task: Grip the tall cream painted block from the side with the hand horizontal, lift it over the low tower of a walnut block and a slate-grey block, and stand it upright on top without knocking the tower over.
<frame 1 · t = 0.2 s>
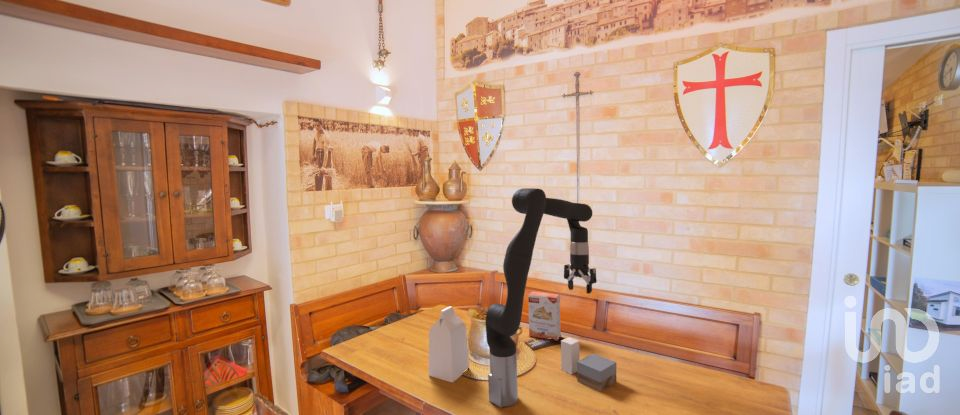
hand: (579, 291, 162), 29 cm above the table, tool pointing down, fingers open, 8 cm apart
cream block: (570, 370, 154), on the table
tower top: (596, 372, 145), point 4 cm above the table
tower base: (596, 382, 145), on the table
milk: (449, 372, 156), on the table
cracker box: (544, 337, 187), on the table
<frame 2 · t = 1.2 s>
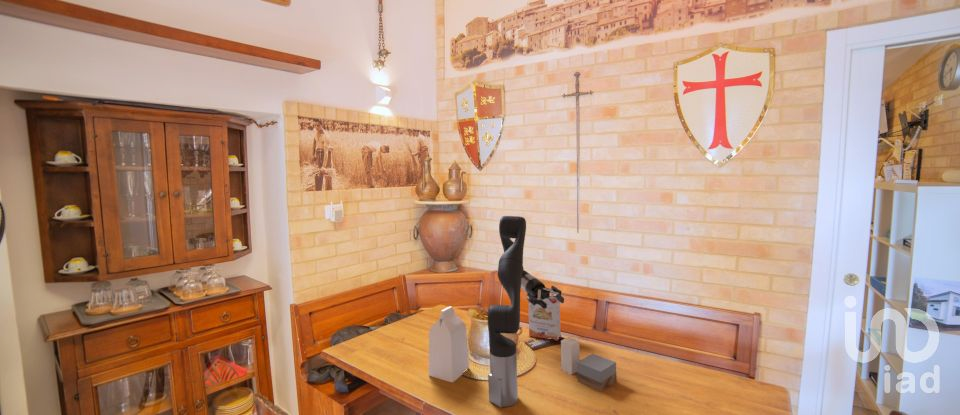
hand: (554, 303, 157), 25 cm above the table, tool horizontal, fingers open, 8 cm apart
tower top: (596, 372, 145), point 4 cm above the table, touching tower base
tower base: (596, 382, 145), on the table, touching tower top
everything else where it was.
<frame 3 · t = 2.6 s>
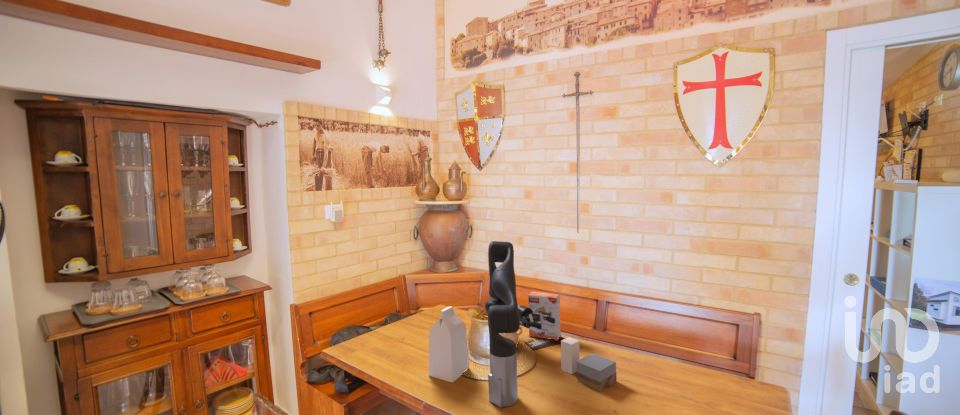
hand: (548, 324, 162), 16 cm above the table, tool horizontal, fingers open, 8 cm apart
nothing on the table moved.
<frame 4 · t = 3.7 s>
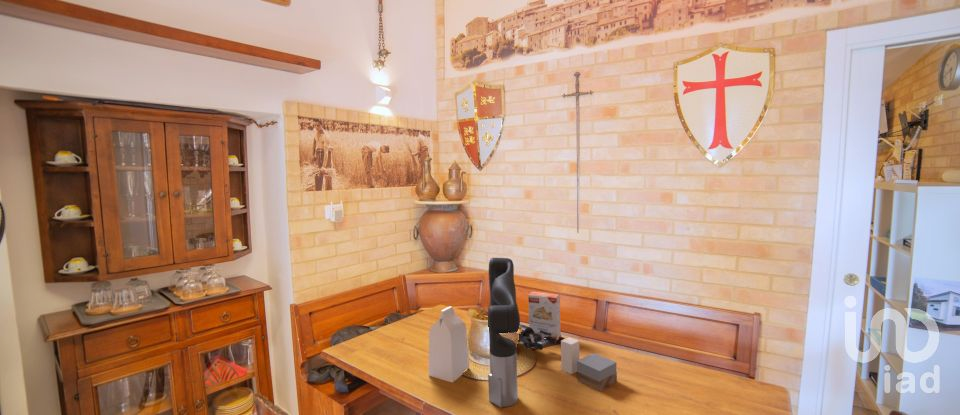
hand: (549, 344, 162), 7 cm above the table, tool horizontal, fingers open, 8 cm apart
tower top: (596, 371, 145), point 4 cm above the table
tower base: (597, 382, 145), on the table
everything else where it was.
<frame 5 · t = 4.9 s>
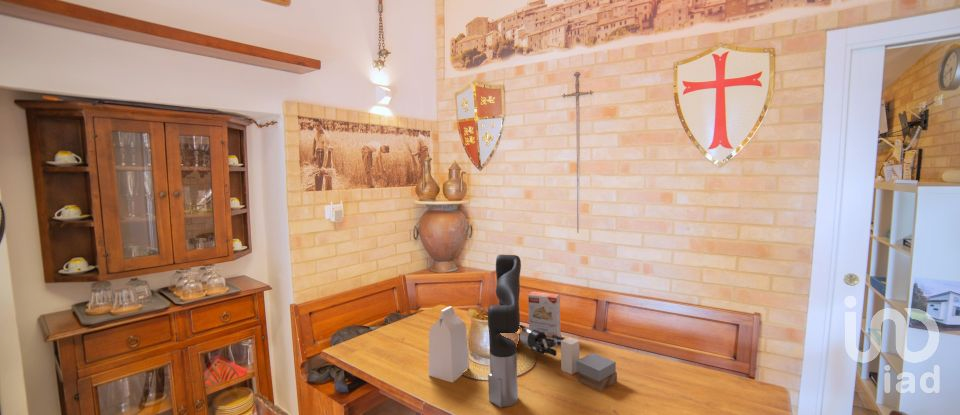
hand: (562, 350, 156), 7 cm above the table, tool horizontal, fingers open, 8 cm apart
nothing on the table moved.
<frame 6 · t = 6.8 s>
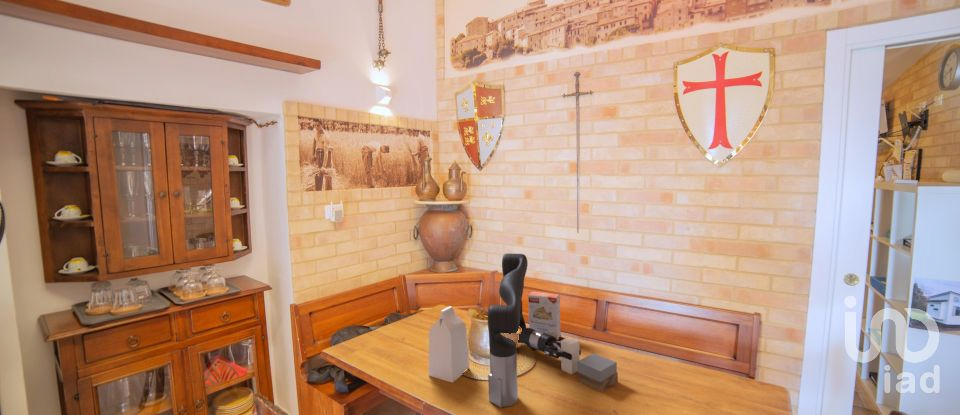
hand: (575, 354, 152), 7 cm above the table, tool horizontal, fingers closed on cream block, 5 cm apart
cream block: (570, 369, 154), on the table, touching gripper
tower top: (597, 372, 145), point 4 cm above the table, touching tower base
tower base: (598, 382, 145), on the table, touching tower top
everything else where it was.
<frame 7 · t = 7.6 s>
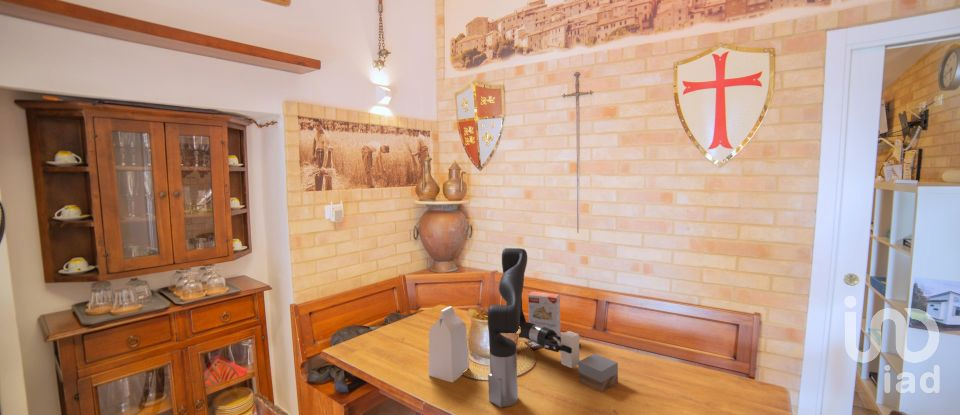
hand: (575, 348, 151), 10 cm above the table, tool horizontal, fingers closed on cream block, 5 cm apart
cream block: (570, 363, 154), point 3 cm above the table, touching gripper
tower top: (598, 372, 145), point 4 cm above the table
tower base: (598, 382, 145), on the table
everything else where it was.
when the fingers open (16 cm above the table, at t = 12.2 s): cream block drops 1 cm, point 8 cm above the table.
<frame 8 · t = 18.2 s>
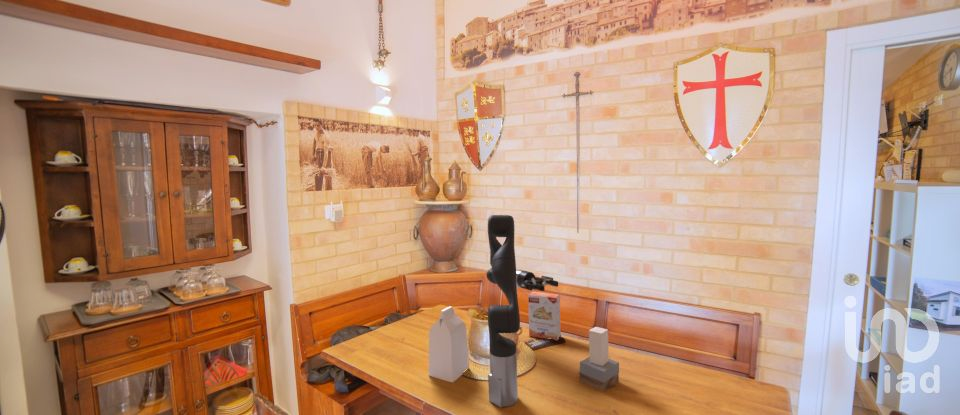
hand: (551, 286, 159), 32 cm above the table, tool horizontal, fingers open, 8 cm apart
cream block: (599, 361, 144), point 8 cm above the table
tower top: (599, 372, 144), point 4 cm above the table, touching tower base
tower base: (599, 382, 145), on the table, touching tower top
everything else where it was.
at the end: cream block 0.1 cm off-centre on the tower top, point 4.1 cm above the tower top's base; cream block tilted 2°; tower top 0.3 cm off-centre on the tower base, point 4.0 cm above the tower base's base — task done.
